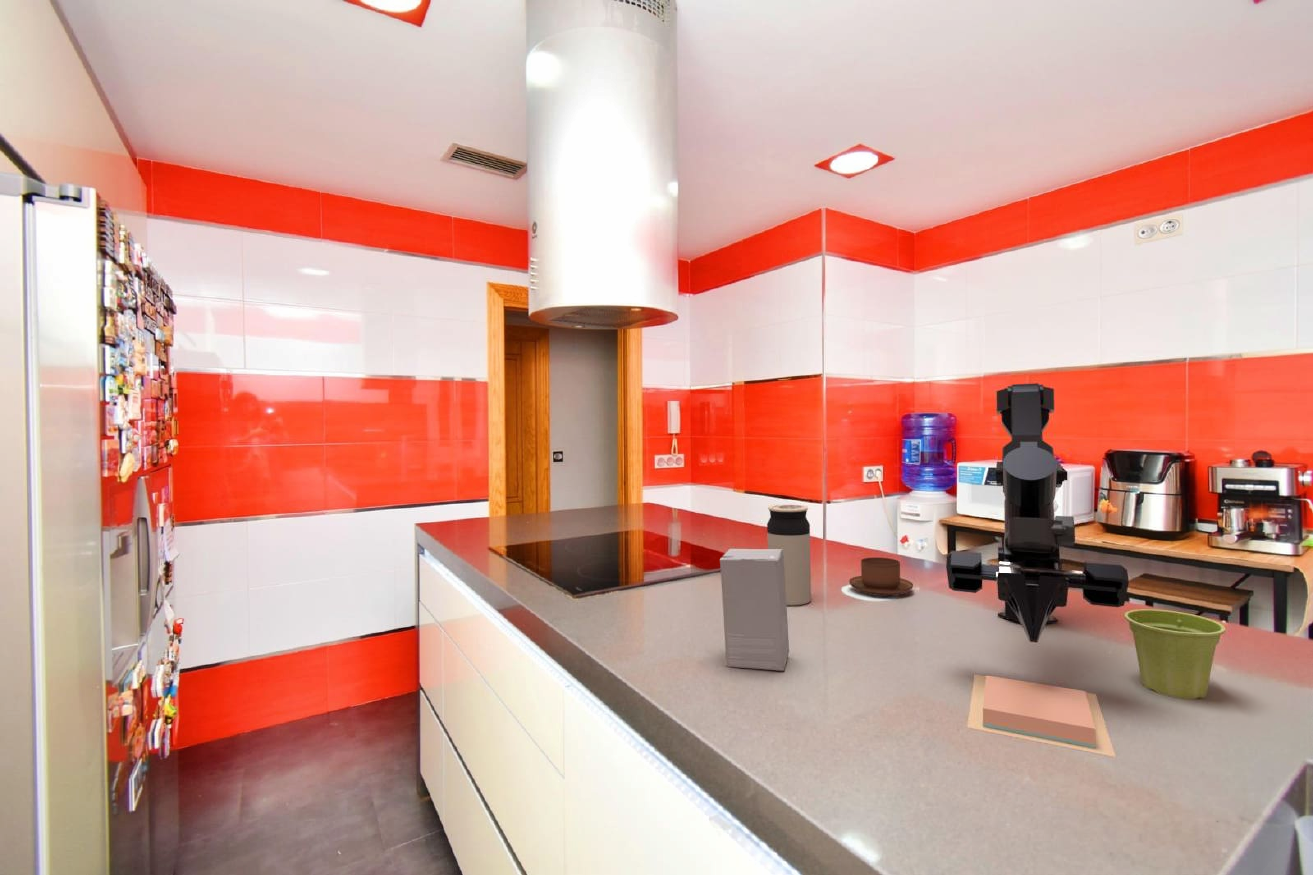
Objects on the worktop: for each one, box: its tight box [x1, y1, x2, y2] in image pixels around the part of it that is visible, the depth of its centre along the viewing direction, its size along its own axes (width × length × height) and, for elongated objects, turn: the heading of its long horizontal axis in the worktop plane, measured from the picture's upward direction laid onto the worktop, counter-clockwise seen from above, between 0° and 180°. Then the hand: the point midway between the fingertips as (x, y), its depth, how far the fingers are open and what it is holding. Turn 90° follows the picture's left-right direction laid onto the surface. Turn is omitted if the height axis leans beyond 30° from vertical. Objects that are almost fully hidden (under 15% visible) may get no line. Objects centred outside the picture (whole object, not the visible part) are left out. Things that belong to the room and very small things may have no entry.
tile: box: [983, 674, 1096, 749], centre depth 69 cm, size 2×10×10 cm
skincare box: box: [719, 548, 790, 671], centre depth 87 cm, size 8×7×16 cm
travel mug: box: [766, 504, 812, 607], centre depth 118 cm, size 8×8×18 cm
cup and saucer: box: [848, 556, 914, 597], centre depth 123 cm, size 12×12×6 cm
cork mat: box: [966, 674, 1116, 758], centre depth 70 cm, size 16×13×1 cm
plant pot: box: [1124, 608, 1226, 700], centre depth 75 cm, size 9×9×9 cm
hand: (1033, 640), depth 71 cm, fingers closed
